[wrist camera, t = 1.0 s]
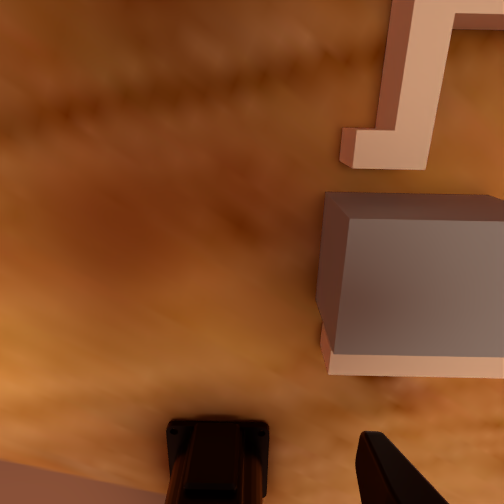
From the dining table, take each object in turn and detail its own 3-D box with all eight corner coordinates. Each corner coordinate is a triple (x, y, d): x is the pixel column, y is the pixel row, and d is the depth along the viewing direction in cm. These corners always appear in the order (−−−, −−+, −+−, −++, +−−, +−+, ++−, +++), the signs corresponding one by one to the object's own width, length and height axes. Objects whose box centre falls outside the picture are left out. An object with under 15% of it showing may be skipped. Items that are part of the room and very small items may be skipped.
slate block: (458, 300, 20) (520, 358, 15) (315, 298, 20) (333, 354, 15) (485, 194, 18) (567, 222, 13) (324, 191, 18) (349, 218, 13)
